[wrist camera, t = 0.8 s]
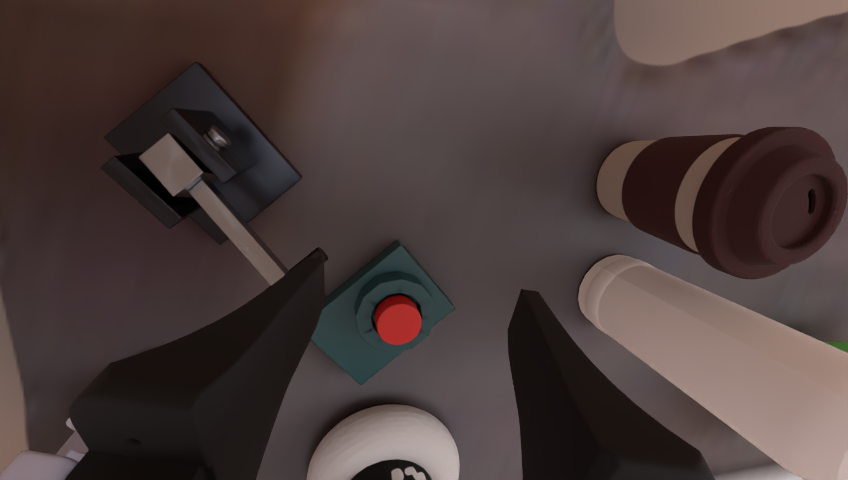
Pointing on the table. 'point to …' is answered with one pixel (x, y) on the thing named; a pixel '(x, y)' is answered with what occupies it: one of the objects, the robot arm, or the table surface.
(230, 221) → the lever
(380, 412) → the decorative figurine
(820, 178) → the coffee cup
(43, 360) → the table surface
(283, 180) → the bracket
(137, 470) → the robot arm
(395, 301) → the stop button
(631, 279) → the bottle
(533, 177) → the table surface
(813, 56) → the table surface
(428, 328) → the button box
